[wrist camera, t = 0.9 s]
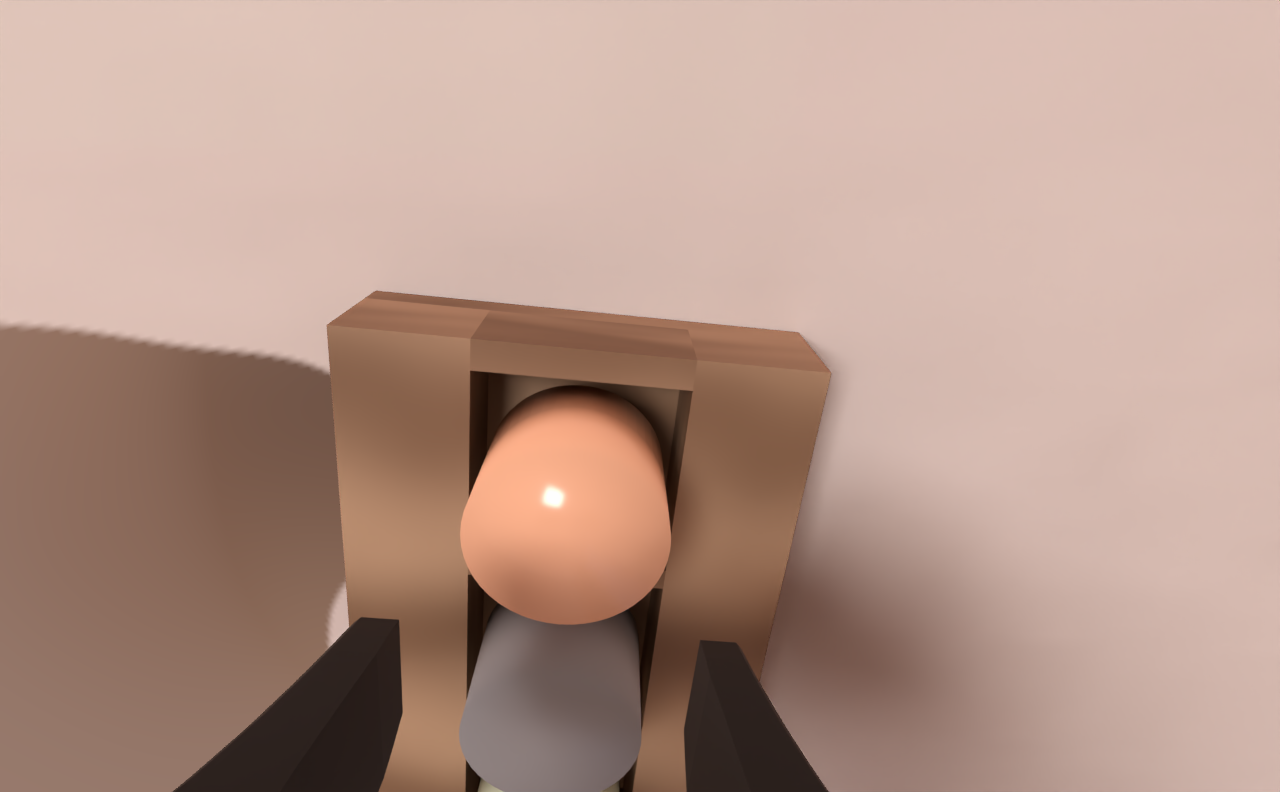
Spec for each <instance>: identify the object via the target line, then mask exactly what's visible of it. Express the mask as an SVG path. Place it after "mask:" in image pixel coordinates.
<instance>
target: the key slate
mask: <svg viewBox="0 0 1280 792" xmlns="http://www.w3.org/2000/svg"><path fill="white" fill-rule="evenodd" d="M459 741H460V746H461V749H462V752H463V755H464V757H465V759H466V760H467V762H468V763H469V765H470V767H471V768H472V769H473V770H474V771H475V772H476V773H477V774H478V775H479V776H480V777H481V778H482V779H483V780H485V781H486V782H488V783H489V784H491V785H492V786H494V787H495V788H497V789H499V790H501V791H503V792H601V791H603V790H605V789H606V788H608V787H610V786H612V785H613V784H615V783H616V782H617V781H619V780H620V779H621V778H622V777H623V776H624V775H625V774H626V773H627V772H628V771H629V770H630V768H631V767H632V765H633V764H634V762H635V761H636V758H637V756H638V754H639V750H640V746H641V705H640V671H639V638H638V629H637V625H636V622H635V619H634V617H633V615H632V613H631V612H630V610H629V609H627V610H625V611H623V612H622V613H619V614H617V615H615V616H612V617H610V618H607V619H603V620H600V621H596V622H591V623H586V624H575V625H563V624H552V623H545V622H541V621H536V620H533V619H530V618H527V617H524V616H521V615H519V614H517V613H515V612H513V611H510V610H509V609H507V608H506V607H504V606H502V605H501V604H499V603H498V604H497V605H496V606H495V608H494V609H493V611H492V612H491V615H490V617H489V619H488V622H487V626H486V630H485V633H484V637H483V641H482V644H481V648H480V652H479V656H478V659H477V663H476V667H475V671H474V674H473V678H472V682H471V685H470V689H469V693H468V697H467V700H466V704H465V708H464V712H463V715H462V719H461V723H460V728H459Z"/></svg>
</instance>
